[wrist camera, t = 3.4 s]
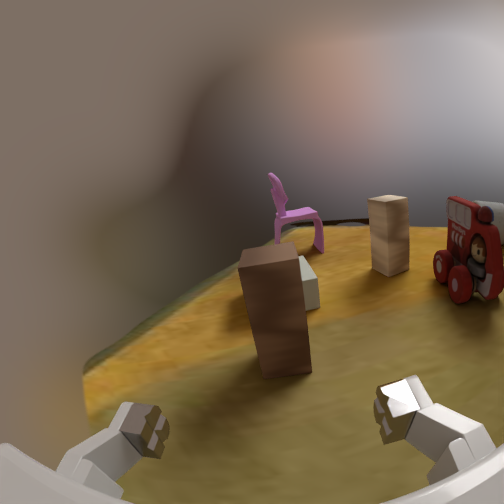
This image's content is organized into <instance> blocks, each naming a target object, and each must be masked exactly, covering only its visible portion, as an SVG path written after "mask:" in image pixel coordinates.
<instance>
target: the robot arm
mask: <svg viewBox="0 0 504 504" xmlns="http://www.w3.org/2000/svg"><path fill="white" fill-rule="evenodd" d="M376 395H377V398H376V399H375V400H374V416H375V420H376V423H378V424H379V425H381V428H380V431H379V432H380V435H381V438H382V441H383V444H384V445H385V444H389V443H392V442H396V441H399V440H402V439H405V440H406V441H407V442H409V443H410V444H411V445H413V446H414V447H415V448H417V449H418V450H419V451H421V452H422V453H423V454H425V455H426V456H427V457H429V458H430V459H432V460H433V461H434V462H436V463H435V465H434V466H433V467H432V469H431V470H430V471H429V473H428V474H427V478H428V481H429V484H430V486H427V487H425V488H422V489H420V490H418V491H415V492H412V493H410V494H407V495H404V496H402V497H399V498H396V499H393V500H390V501H387V502H383V503H380V504H504V444H502V445H501V446H499V447H498V448H496V447H495V445H494V444H493V442H492V440H491V438H490V436H489V435H488V433H487V431H486V429H485V428H484V426H483V424H481V423H478V422H476V421H474V420H472V419H470V418H467V417H465V416H463V415H461V414H459V413H457V412H454V411H452V410H450V409H448V408H446V407H444V406H442V405H440V404H438V403H435V404H433V402H432V401H431V399H430V397H429V395H428V394H427V392H426V390H425V388H424V387H423V385H422V383H421V382H420V380H419V378H418V377H417V376H416V375H414V376H410V377H407V378H404V379H400V380H397V381H393V382H390V383H387V384H383V385H380V386H378V387H377V389H376ZM161 412H162V411H161V409H160V408H159V406H155V405H147V404H139V403H132V402H124V403H122V404H121V406H120V408H119V409H118V411H117V413H116V415H115V417H114V419H113V420H112V422H111V424H110V426H109V428H108V429H107V428H105V429H103V430H102V431H100V432H98V433H97V434H95V435H93V436H92V437H90V438H88V439H87V440H85V441H83V442H82V443H80V444H78V445H77V446H75V447H73V448H72V449H70V450H68V451H67V452H66V454H65V456H64V457H63V459H62V461H61V463H60V464H59V466H58V468H57V470H56V471H53V470H51V469H50V468H48V467H46V466H44V465H42V464H41V463H39V462H37V461H36V460H34V459H32V458H31V457H29V456H27V455H26V454H24V453H23V452H21V451H20V450H18V449H17V448H15V447H14V446H12V445H11V444H9V443H3V444H0V504H134V503H131V502H127V501H124V500H121V496H122V494H123V489H122V488H121V487H120V486H119V485H118V484H117V483H115V481H116V480H118V479H119V478H120V477H121V476H122V475H123V474H125V473H126V472H127V471H128V470H129V469H130V468H131V467H133V466H134V465H135V464H136V463H137V462H138V461H139V460H140V459H141V458H143V457H150V458H156V459H161V456H162V454H163V451H164V448H165V446H164V444H163V442H164V441H165V440H166V439H168V436H169V430H170V426H169V423H168V421H167V419H166V418H165V417H164V416H162V415H161ZM142 456H143V457H142Z"/></svg>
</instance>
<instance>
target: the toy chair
mask: <svg viewBox="0 0 504 504" xmlns="http://www.w3.org/2000/svg"><path fill="white" fill-rule="evenodd" d="M268 176H269V178H270V181H271V182H272V185H273V189H271V193H272V196H273V199H274V202H275V205H276V208H277V212H278V213H276V217H277V218H276V219H275V244H280V232H281V227H282V226H283V225H284V224H286V223H290V222H293V221H297V220H301V219H313V221H314V225H315V238H314V243H313V244H314V245H315V246H316V248H317V249H318V250H319V251H320V252H321V253H324V236H323V225H322V221H321V219H320V218H319V217H318V212H317V211H314V210H312V209H311V208H309V207H306V208H301V209H297V210H292V211H285V203H286V202H287V200H288V198H287V196H286V194H285V192H284V190H283V187H282V184H281V182H280V180H279V179H278V178H277V177H276V176H275V175H274V174H273V173H269V174H268Z"/></svg>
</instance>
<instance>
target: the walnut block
mask: <svg viewBox="0 0 504 504" xmlns="http://www.w3.org/2000/svg"><path fill="white" fill-rule="evenodd" d="M238 272H239V276H240V281H241V285H242V290H243V294H244V298H245V303H246V307H247V311H248V316H249V320H250V324H251V328H252V333H253V337H254V341H255V345H256V350H257V354H258V358H259V362H260V366H261V370H262V374H263V378H264V379H268V378H277V377H285V376H292V375H299V374H305V373H311V372H312V366H311V355H310V345H309V336H308V326H307V317H306V309H305V300H304V292H303V285H302V277H301V270H300V262H299V257H298V254H297V251H296V248H295V245H294V242H287V243H281V244H275V245H269V246H263V247H257V248H251V249H245V250H243V252H242V255H241V259H240V262H239V265H238Z"/></svg>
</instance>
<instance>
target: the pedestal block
mask: <svg viewBox="0 0 504 504" xmlns="http://www.w3.org/2000/svg"><path fill="white" fill-rule="evenodd" d="M298 257H299V262H300V270H301V277H302V285H303V292H304V300H305V309H306V310H311V309H316V308H320V299H319V288H318V279H317V276H316V275H315V273H314V272H313V270H312V269H311V267H310V265H309V264H308V262H307V261H306V259H305V258H304V256H298Z"/></svg>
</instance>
